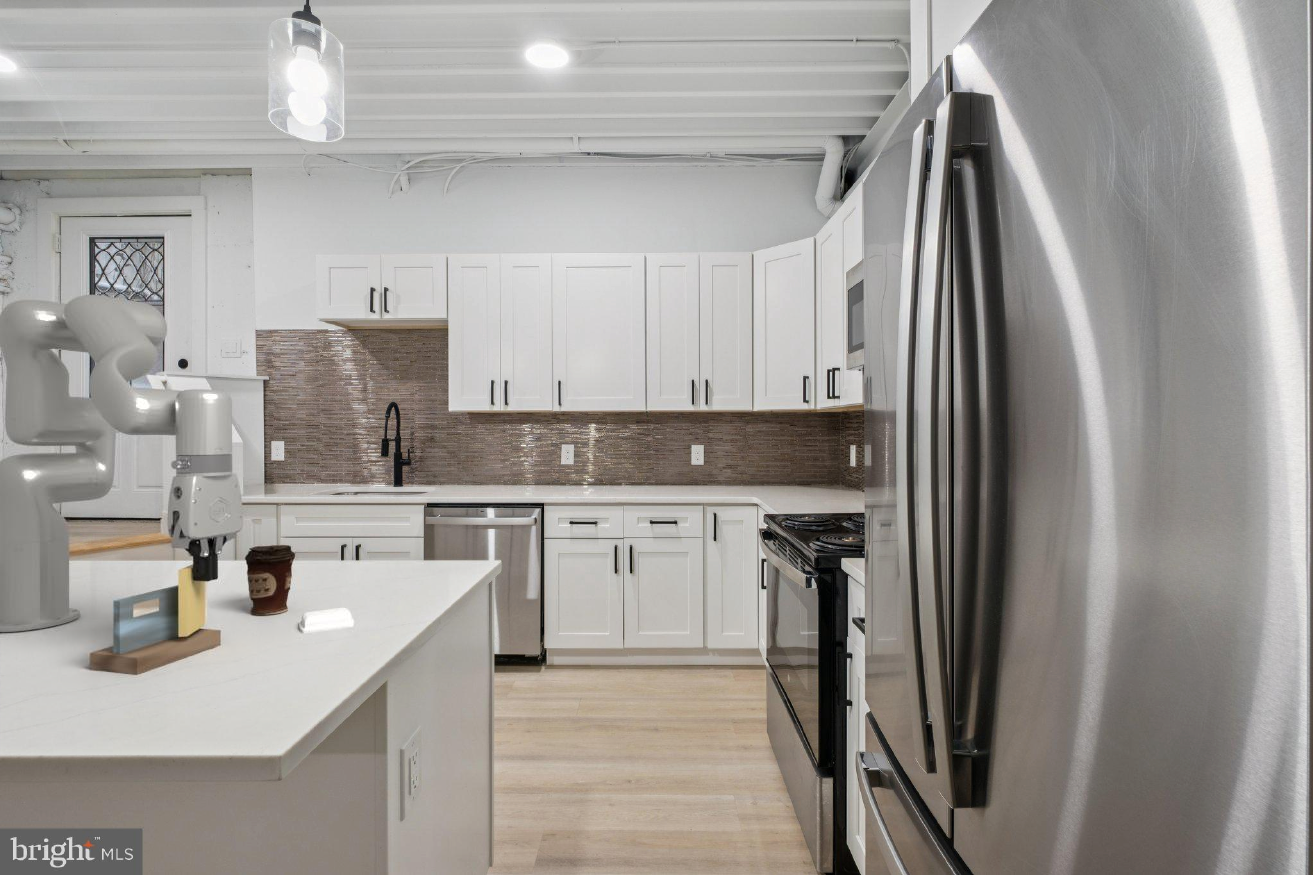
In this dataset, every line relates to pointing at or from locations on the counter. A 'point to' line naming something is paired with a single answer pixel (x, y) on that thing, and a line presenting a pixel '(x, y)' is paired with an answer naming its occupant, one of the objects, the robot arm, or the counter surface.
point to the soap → (326, 620)
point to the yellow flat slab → (191, 602)
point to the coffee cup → (269, 578)
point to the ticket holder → (149, 635)
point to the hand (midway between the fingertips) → (205, 579)
